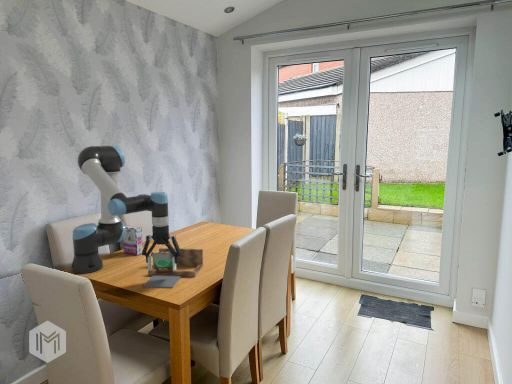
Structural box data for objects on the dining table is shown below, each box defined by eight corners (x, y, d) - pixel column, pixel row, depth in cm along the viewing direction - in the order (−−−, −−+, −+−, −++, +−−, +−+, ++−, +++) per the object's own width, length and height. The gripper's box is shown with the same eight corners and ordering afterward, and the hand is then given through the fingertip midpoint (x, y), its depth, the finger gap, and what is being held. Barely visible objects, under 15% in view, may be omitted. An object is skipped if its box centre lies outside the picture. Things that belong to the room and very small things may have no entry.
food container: (151, 275, 166) (150, 255, 165) (151, 271, 172) (150, 251, 171) (178, 273, 170) (178, 252, 169) (177, 268, 176) (176, 249, 175)
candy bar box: (143, 253, 216) (142, 227, 213) (137, 255, 211) (135, 228, 209) (130, 250, 221) (128, 225, 218) (123, 253, 216) (122, 226, 214)
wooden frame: (148, 275, 180) (147, 258, 178) (160, 263, 197) (159, 248, 196) (195, 276, 178) (194, 259, 176) (203, 265, 195) (202, 249, 194)
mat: (142, 287, 165) (142, 285, 165) (153, 275, 179) (153, 274, 179) (172, 287, 164) (172, 286, 164) (181, 276, 178) (181, 275, 178)
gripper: (132, 226, 165) (135, 271, 168) (182, 227, 163) (184, 272, 166) (139, 222, 173) (141, 266, 175) (187, 223, 171) (188, 267, 173)
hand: (162, 269), depth 171 cm, fingers closed on food container, 11 cm apart
